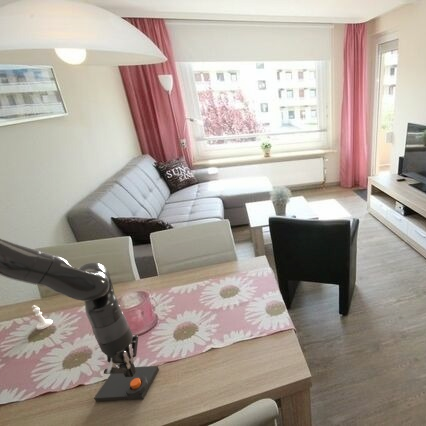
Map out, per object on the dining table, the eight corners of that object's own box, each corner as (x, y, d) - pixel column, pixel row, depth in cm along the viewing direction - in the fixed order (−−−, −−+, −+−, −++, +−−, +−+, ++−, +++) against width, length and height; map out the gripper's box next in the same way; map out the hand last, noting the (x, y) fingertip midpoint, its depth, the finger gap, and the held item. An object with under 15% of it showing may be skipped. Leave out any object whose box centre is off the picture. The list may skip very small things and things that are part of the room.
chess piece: (42, 320, 119) (31, 301, 115) (55, 319, 119) (45, 300, 115) (33, 330, 114) (21, 310, 110) (46, 328, 115) (35, 309, 111)
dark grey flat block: (143, 400, 87) (140, 392, 85) (95, 403, 87) (91, 395, 85) (159, 369, 96) (157, 362, 95) (116, 371, 96) (112, 364, 95)
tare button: (138, 389, 87) (136, 385, 86) (129, 389, 87) (128, 386, 86) (143, 381, 89) (141, 377, 89) (134, 381, 89) (132, 378, 89)
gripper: (113, 313, 85) (130, 356, 92) (81, 352, 73) (103, 397, 80) (139, 312, 85) (154, 355, 92) (111, 350, 73) (131, 396, 80)
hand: (131, 374), depth 86 cm, fingers closed
